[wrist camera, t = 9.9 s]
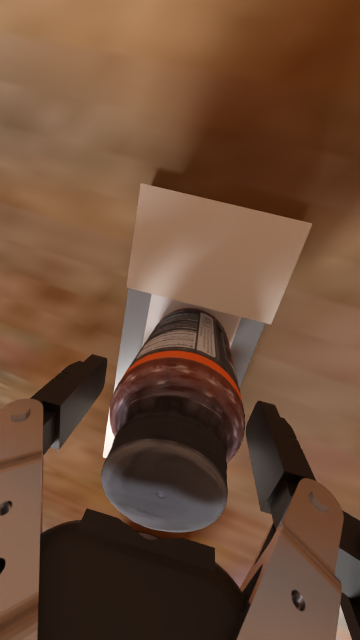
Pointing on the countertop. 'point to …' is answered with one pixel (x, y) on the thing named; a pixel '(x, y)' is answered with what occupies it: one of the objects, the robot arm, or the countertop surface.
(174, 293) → the rail board
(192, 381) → the supplement bottle
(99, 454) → the countertop surface
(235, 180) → the countertop surface
